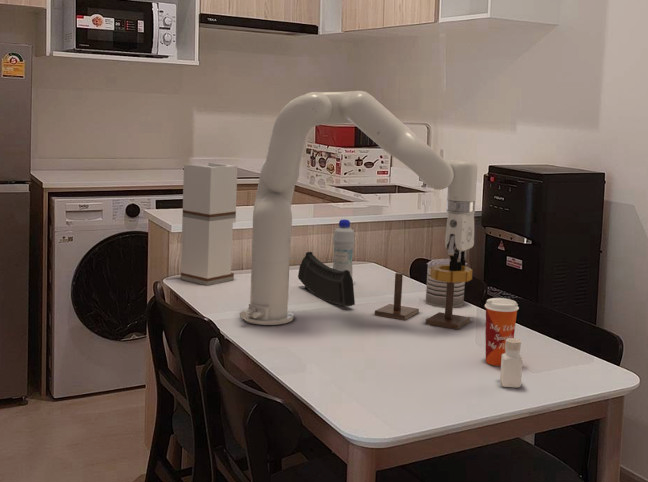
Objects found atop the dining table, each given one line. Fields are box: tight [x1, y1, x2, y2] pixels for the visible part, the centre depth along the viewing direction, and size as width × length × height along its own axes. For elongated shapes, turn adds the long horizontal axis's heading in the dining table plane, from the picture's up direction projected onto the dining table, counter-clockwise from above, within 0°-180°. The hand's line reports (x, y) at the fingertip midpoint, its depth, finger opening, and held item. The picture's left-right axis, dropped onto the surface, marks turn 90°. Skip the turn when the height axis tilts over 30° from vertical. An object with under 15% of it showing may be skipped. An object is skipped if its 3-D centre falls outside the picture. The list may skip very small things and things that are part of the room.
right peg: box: [425, 282, 471, 330], centre depth 216 cm, size 9×9×11 cm
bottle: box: [332, 218, 356, 278], centre depth 255 cm, size 7×7×20 cm
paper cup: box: [484, 297, 520, 367], centre depth 186 cm, size 8×8×14 cm
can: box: [425, 257, 468, 308], centre depth 238 cm, size 11×11×12 cm
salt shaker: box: [499, 337, 524, 388], centre depth 171 cm, size 4×4×10 cm
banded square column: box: [180, 162, 238, 286], centre depth 249 cm, size 11×11×35 cm
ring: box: [430, 264, 473, 283], centre depth 216 cm, size 10×10×3 cm
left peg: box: [374, 272, 420, 321], centre depth 222 cm, size 9×9×11 cm
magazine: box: [297, 251, 356, 307], centre depth 235 cm, size 17×3×30 cm
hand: (456, 274), depth 220 cm, fingers closed on ring, 2 cm apart
